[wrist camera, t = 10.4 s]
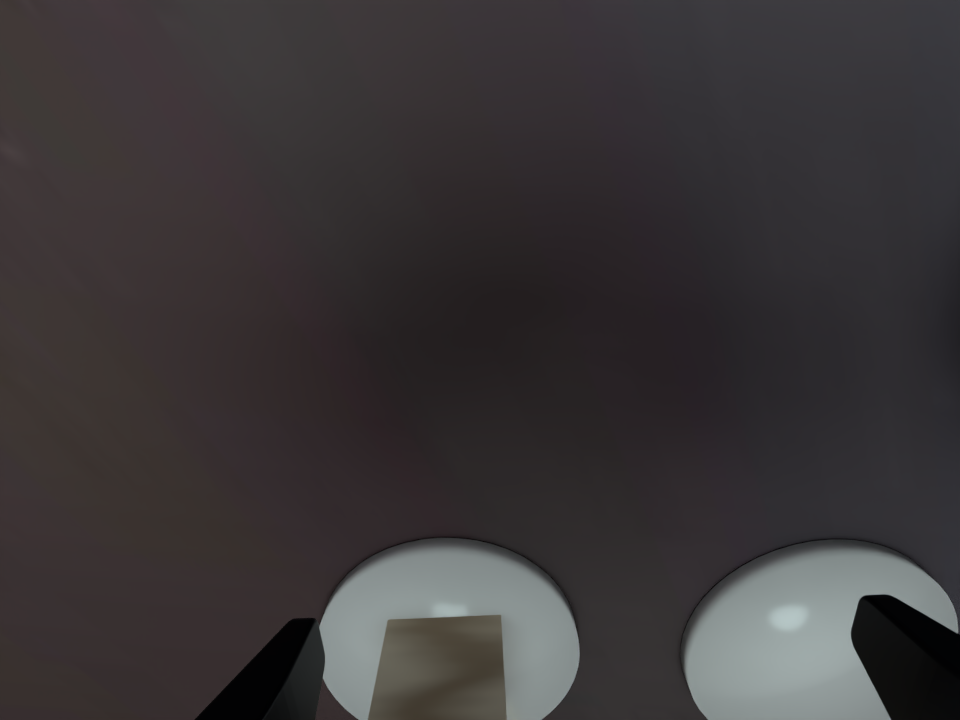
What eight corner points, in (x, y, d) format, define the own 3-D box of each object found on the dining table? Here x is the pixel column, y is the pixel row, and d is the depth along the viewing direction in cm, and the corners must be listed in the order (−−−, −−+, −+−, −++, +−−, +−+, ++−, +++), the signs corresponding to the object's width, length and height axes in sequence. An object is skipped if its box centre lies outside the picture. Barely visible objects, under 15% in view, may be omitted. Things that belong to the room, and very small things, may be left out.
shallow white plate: (971, 533, 23) (992, 549, 22) (905, 722, 27) (921, 743, 26) (691, 545, 23) (700, 561, 22) (671, 731, 27) (677, 751, 26)
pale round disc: (577, 531, 23) (581, 547, 22) (574, 722, 27) (578, 742, 26) (301, 543, 23) (294, 560, 22) (342, 730, 27) (337, 750, 26)
